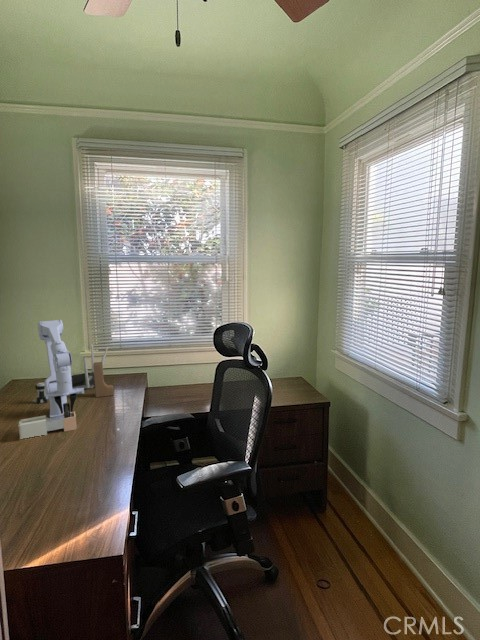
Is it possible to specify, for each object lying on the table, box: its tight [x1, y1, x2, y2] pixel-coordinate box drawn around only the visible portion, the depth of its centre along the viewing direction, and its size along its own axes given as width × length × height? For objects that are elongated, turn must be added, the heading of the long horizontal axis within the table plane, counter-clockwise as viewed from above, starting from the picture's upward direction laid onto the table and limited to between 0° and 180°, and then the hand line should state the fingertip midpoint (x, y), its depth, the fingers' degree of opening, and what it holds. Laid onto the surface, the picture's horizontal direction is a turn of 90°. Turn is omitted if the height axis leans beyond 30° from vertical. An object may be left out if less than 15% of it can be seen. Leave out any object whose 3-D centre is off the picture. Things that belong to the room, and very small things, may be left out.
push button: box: [33, 381, 49, 404], centre depth 182 cm, size 7×5×10 cm
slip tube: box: [46, 402, 73, 432], centre depth 150 cm, size 4×12×10 cm, turn 118°
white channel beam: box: [18, 415, 48, 440], centre depth 147 cm, size 6×10×6 cm, turn 118°
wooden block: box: [93, 361, 114, 398], centre depth 190 cm, size 9×4×18 cm, turn 111°
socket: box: [62, 411, 78, 432], centre depth 153 cm, size 6×5×6 cm
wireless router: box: [71, 343, 109, 390], centre depth 210 cm, size 34×23×20 cm
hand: (66, 411), depth 152 cm, fingers open, 3 cm apart
